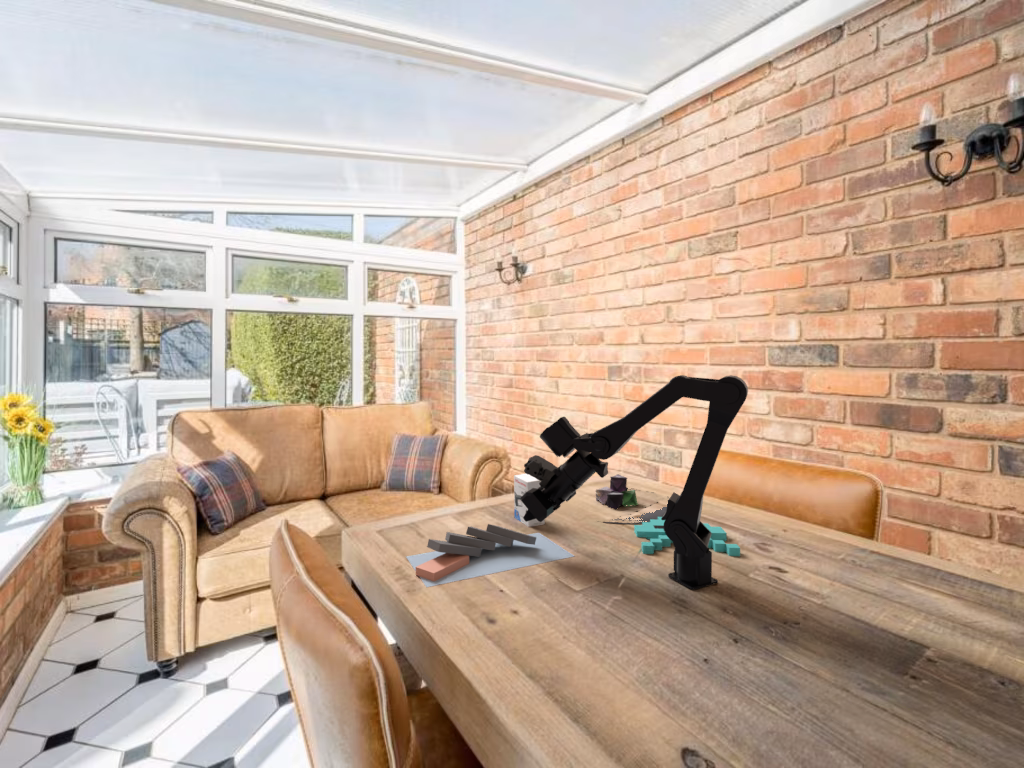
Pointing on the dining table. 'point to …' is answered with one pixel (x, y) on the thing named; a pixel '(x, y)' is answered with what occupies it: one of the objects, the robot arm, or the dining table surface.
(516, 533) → the domino
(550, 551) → the mat
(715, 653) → the dining table surface
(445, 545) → the domino
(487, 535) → the domino
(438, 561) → the domino
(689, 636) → the dining table surface
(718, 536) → the alien figure
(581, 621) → the dining table surface
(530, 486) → the ink box
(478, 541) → the domino
